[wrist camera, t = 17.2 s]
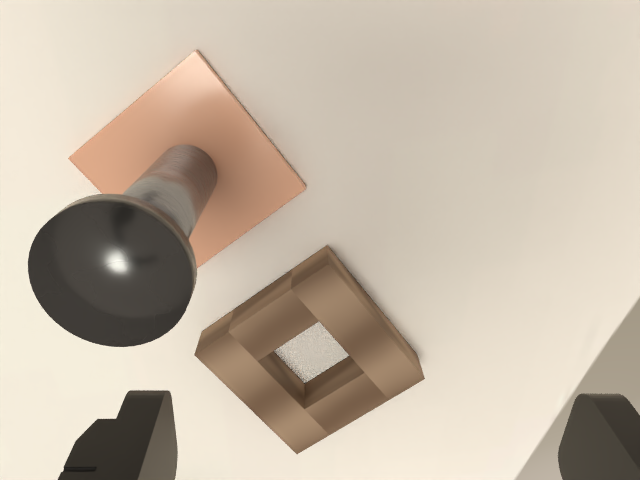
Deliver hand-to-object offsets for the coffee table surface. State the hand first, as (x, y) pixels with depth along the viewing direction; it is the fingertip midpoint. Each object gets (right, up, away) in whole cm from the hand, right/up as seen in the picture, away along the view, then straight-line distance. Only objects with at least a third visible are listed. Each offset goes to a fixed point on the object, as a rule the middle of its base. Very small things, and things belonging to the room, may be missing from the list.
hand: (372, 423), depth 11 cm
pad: (-10, +8, +26) cm, 29 cm away
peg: (-10, +8, +25) cm, 28 cm away
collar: (-2, -4, +31) cm, 32 cm away
